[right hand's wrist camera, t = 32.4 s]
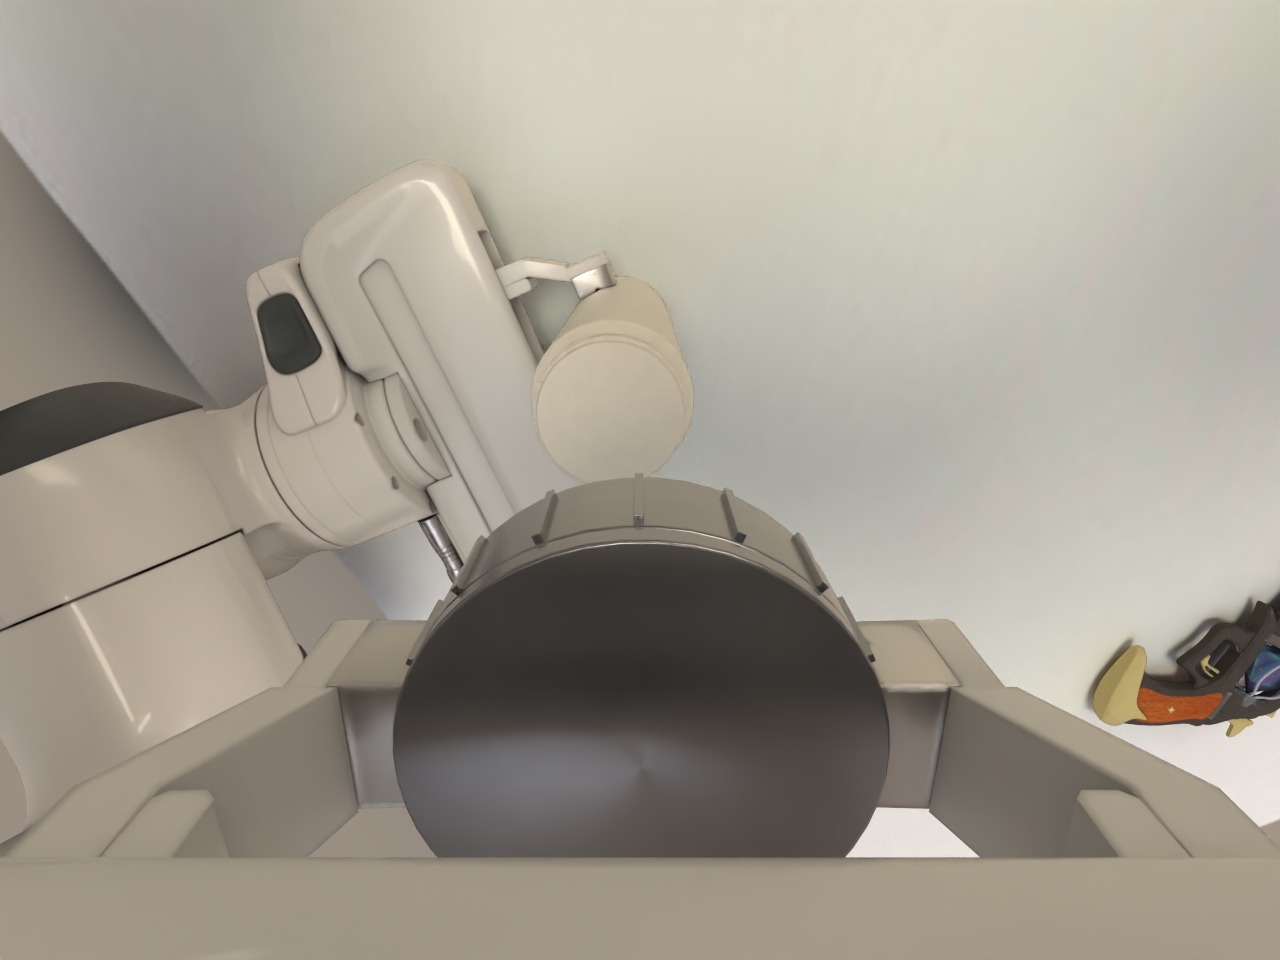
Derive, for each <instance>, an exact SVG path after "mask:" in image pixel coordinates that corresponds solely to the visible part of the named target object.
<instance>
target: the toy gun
mask: <svg viewBox="0 0 1280 960" xmlns="http://www.w3.org/2000/svg"><path fill="white" fill-rule="evenodd" d="M1226 639H1227V640H1228V641H1229V644H1230V647H1229V648H1228V649H1227V651H1226V652H1225V653H1224V654H1223V656H1222V657H1221V658H1220V659H1219V661H1218V662H1217V663H1216V664H1215V665H1214V667H1212V666H1210V665H1209V664H1208V660H1209V658H1210V655H1209V654H1210V653H1212V652H1213V651H1214V650H1215V649H1216V648H1217V647H1218V646H1219V645H1220V644H1221V643H1222V642H1223V641H1224V640H1226ZM1267 642H1268V643H1270V644H1272V645H1274V646H1270V645H1266V644H1267ZM1146 662H1147V657H1146V653H1145V649H1144V648H1143V647H1142V646H1139V645H1136V646H1133V647H1130V648H1129V649H1128V650H1127V651H1126V652H1125V653H1124V654H1123V655H1122V656H1121V657H1120V658H1119V659H1118V660H1117V661H1116V662H1115V663H1114V664H1113V665H1112V667H1111V668H1110V669H1109V670H1108V671H1107V673H1106V674H1105V675H1104V677H1103V678H1102V680H1101V681H1100V683H1099V685H1098V687H1097V689H1096V691H1095V694H1094V699H1093V706H1094V711H1095V713H1096V715H1097V716H1098V718H1099V719H1100V720H1102V721H1103V722H1105V723H1107V724H1109V725H1113V726H1116V725H1121V724H1123V723H1126V724H1135V725H1171V724H1183V723H1184V724H1191V725H1194V726H1200V725H1202V724H1204V725H1212V724H1217V723H1220V722H1224V721H1229V722H1230V726H1229V728H1228V730H1227V733H1226V735H1227V736H1228V737H1233V736H1235V735H1237V734H1238V733H1240V732H1241V731H1242V730H1243V729H1244V728H1245V727H1247V726H1250V725H1252V724H1253V723H1254V722H1253V721H1251V720H1250V719H1254V718H1256V717H1258V716H1263V715H1267V716H1269V717H1271V718H1272V717H1273V715H1274V714H1275V712H1276V711H1277V710H1278V709H1279V708H1280V610H1279V611H1278V612H1277V613H1275V614H1274V611H1273V608H1272V607H1271V606H1269V605H1267V604H1265V603H1263V602H1261V601H1257V603H1256V606H1255V609H1254V611H1253V614H1252V616H1251V618H1250V620H1249V621H1248V623H1247V624H1246V626H1245V628H1243V629H1240V628H1238V627H1236V626H1234V625H1232V624H1229V623H1220V624H1216V625H1214V626H1213V627H1212V628H1211V629H1210V630H1209V632H1208V633H1207V634H1206V635H1205V637H1204V638H1203V639H1202V640H1201V641H1200V642H1199V643H1198V644H1197V645H1195V646H1194V647H1193V648H1192V649H1190V650H1189V651H1187V652H1186V653H1185V654H1183V655H1182V656H1180V657H1179V658H1178V659H1177V664H1179V665H1180V666H1181V667H1183V668H1184V669H1185V670H1186V671H1187V672H1188V674H1189V676H1190V678H1189V681H1185V682H1166V681H1157V680H1154V679H1152V678H1150V677H1149V676H1147V675H1146V673H1145V671H1144V670H1145V666H1146ZM1199 662H1200V665H1201V667H1202V669H1203V671H1204V672H1205V673H1206V674H1203V675H1199V674H1198V672H1197V671H1196V669H1195V666H1196V664H1198V663H1199ZM1205 666H1207V667H1208V668H1210V669H1211V670H1210V671H1207V670H1206V669H1205ZM1244 673H1245V686H1240V687H1238V686H1239V684H1238V681H1239V680H1240V679H1241V677H1242V676H1243V675H1244ZM1242 688H1246V691H1245V690H1243V689H1242ZM1258 691H1263V692H1261V693H1260V694H1257V695H1254V694H1255V693H1256V692H1258ZM1251 692H1252V693H1251ZM1250 693H1251V694H1250Z"/></svg>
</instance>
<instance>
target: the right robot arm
mask: <svg viewBox="0 0 1280 960" xmlns="http://www.w3.org/2000/svg"><path fill="white" fill-rule="evenodd" d="M426 622H427V621H410V620H375V621H374V620H372V619H359V620H339V621H334V622H333V623H332V624H331V625H330V627H329V628H328V629H327V631H326V632H325V633H324V634H323V636H322V637H321V638H320V640H319V641H318V642H317V643H316V645H315V646H314V647H313V649H312V650H311V651H310V653H309V654H308V655H307V656H306V658H305V659H304V660H303V662H302V663H301V664H300V665H299V667H298V668H297V669H296V671H295V672H294V673H293V674H292V676H291V677H290V678H289V680H288V681H287V682H286V683H285V685H284V686H283V687H271V688H269V689H267V690H265V691H263V692H261V693H259V694H257V695H255V696H253V697H251V698H249V699H247V700H245V701H243V702H241V703H239V704H237V705H235V706H233V707H231V708H229V709H227V710H225V711H223V712H221V713H219V714H217V715H215V716H213V717H211V718H209V719H207V720H205V721H203V722H201V723H199V724H197V725H195V726H193V727H191V728H189V729H187V730H185V731H183V732H181V733H179V734H177V735H175V736H173V737H171V738H169V739H167V740H165V741H163V742H161V743H159V744H157V745H155V746H153V747H151V748H149V749H147V750H145V751H143V752H141V753H139V754H137V755H135V756H133V757H131V758H129V759H127V760H125V761H123V762H121V763H119V764H117V765H115V766H113V767H111V768H109V769H107V770H105V771H103V772H101V773H99V774H97V775H95V776H93V777H91V778H89V779H87V780H85V781H83V782H81V783H79V784H77V785H75V786H73V787H72V788H71V789H70V790H69V791H68V792H67V793H66V794H65V795H64V796H63V797H62V798H61V799H60V800H59V801H58V802H57V803H56V804H55V805H54V806H53V807H52V808H51V809H50V810H49V811H48V812H47V813H46V814H45V815H44V816H43V817H42V818H41V819H40V820H39V821H38V822H37V823H36V824H35V825H34V826H33V827H32V828H31V829H30V830H29V831H28V832H27V833H26V834H25V835H23V836H22V837H21V838H20V839H19V840H18V841H17V842H16V843H15V844H14V845H13V846H12V847H11V848H10V849H9V850H8V851H7V852H6V853H5V854H4V855H3V856H2V857H1V858H0V960H1280V847H1279V846H1278V845H1277V844H1276V843H1275V842H1274V841H1273V840H1272V839H1271V838H1270V837H1269V836H1268V835H1267V834H1265V833H1264V832H1263V831H1262V830H1261V829H1260V828H1259V827H1258V826H1257V825H1256V824H1255V823H1254V822H1253V821H1252V820H1251V819H1250V818H1249V817H1248V816H1247V815H1246V814H1245V813H1244V812H1243V811H1242V810H1241V809H1240V808H1239V807H1238V806H1237V805H1236V804H1235V803H1234V802H1233V801H1232V800H1231V799H1230V798H1229V797H1228V796H1227V795H1226V794H1225V793H1224V792H1223V791H1222V790H1221V789H1220V788H1218V787H1216V786H1214V785H1212V784H1210V783H1208V782H1206V781H1204V780H1202V779H1200V778H1198V777H1196V776H1194V775H1192V774H1190V773H1188V772H1186V771H1184V770H1182V769H1180V768H1178V767H1176V766H1174V765H1172V764H1170V763H1168V762H1166V761H1164V760H1162V759H1160V758H1158V757H1156V756H1154V755H1152V754H1150V753H1148V752H1146V751H1144V750H1142V749H1140V748H1138V747H1136V746H1134V745H1132V744H1130V743H1128V742H1126V741H1124V740H1122V739H1120V738H1118V737H1116V736H1114V735H1112V734H1110V733H1108V732H1106V731H1104V730H1102V729H1100V728H1098V727H1096V726H1094V725H1092V724H1090V723H1088V722H1086V721H1084V720H1082V719H1080V718H1078V717H1076V716H1074V715H1072V714H1070V713H1068V712H1066V711H1064V710H1062V709H1060V708H1058V707H1056V706H1054V705H1052V704H1050V703H1048V702H1046V701H1044V700H1042V699H1040V698H1037V697H1035V696H1033V695H1031V694H1029V693H1027V692H1025V691H1023V690H1021V689H1019V688H1017V687H1005V686H1004V685H1003V684H1002V682H1001V681H1000V680H999V679H998V677H997V676H996V675H995V674H994V672H993V671H992V670H991V669H990V667H989V666H988V665H987V664H986V662H985V661H984V660H983V659H982V657H981V656H980V655H979V654H978V652H977V651H976V650H975V648H974V647H973V646H972V645H971V643H970V642H969V641H968V640H967V638H966V637H965V636H964V635H963V633H962V632H961V631H960V630H959V628H958V627H957V626H956V625H955V623H954V622H952V621H950V620H947V619H934V620H902V621H862V622H857V624H858V626H859V628H860V630H861V632H862V634H863V635H864V637H865V639H866V641H867V643H868V645H869V647H870V648H871V650H872V652H873V654H874V657H875V659H876V661H874V662H872V663H871V664H872V666H873V667H874V669H875V672H876V675H877V678H878V680H879V683H880V686H881V688H882V691H883V694H884V697H885V702H886V708H887V713H888V718H889V727H890V754H889V761H888V768H887V776H886V780H885V783H884V787H883V790H882V793H881V797H880V800H879V803H878V805H877V807H888V808H924V809H930V810H929V812H930V813H931V814H932V815H933V816H935V817H936V818H937V819H938V820H939V821H940V822H941V823H942V824H944V825H945V826H946V827H947V828H948V829H949V830H950V831H951V832H953V833H954V834H955V835H956V836H957V837H958V838H959V839H960V840H962V841H963V842H964V843H965V844H966V845H967V846H968V847H969V848H971V849H972V850H973V851H974V852H975V853H976V854H977V855H978V856H980V857H981V858H308V857H309V856H310V855H311V854H312V853H313V852H314V851H315V850H317V849H318V848H319V847H320V846H321V845H322V844H323V843H324V842H325V841H327V840H328V839H329V838H330V837H331V836H332V835H333V834H334V833H335V832H337V831H338V830H339V829H340V828H341V827H342V826H343V825H344V824H345V823H347V822H348V821H349V820H350V819H351V818H352V817H353V816H354V815H355V814H357V813H358V809H363V808H398V807H406V806H405V804H404V800H403V797H402V794H401V791H400V788H399V785H398V782H397V777H396V771H395V764H394V758H393V722H394V716H395V711H396V705H397V699H398V696H399V693H400V690H401V687H402V685H403V682H404V679H405V676H406V673H407V671H408V669H409V667H410V666H408V665H406V661H407V658H408V656H409V654H410V652H411V650H412V649H413V647H414V645H415V643H416V641H417V639H418V637H419V635H420V634H421V632H422V630H423V628H424V626H425V624H426Z"/></svg>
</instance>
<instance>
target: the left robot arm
mask: <svg viewBox="0 0 1280 960" xmlns="http://www.w3.org/2000/svg"><path fill="white" fill-rule="evenodd" d="M535 278H541V279H549V280H557V281H565V282H572V283H573V285H574V287H575V290H576V292H577V294H578V296H579V299H582V298H584V297H586V296H589V295H591V294H592V293H594V292H595V290H596V289H597V288H598V289H605V288H608V287H610V286H612V285H614V284H616V283H617V280H616V278H615V275H614V272H613V270H612V267H611V264H610V262H609V259H608V257H607V255H606V252H605V251H603V252H601V253H598V254H596V255H593V256H591V257H589V258H586V259H584V260H582V261H579V262H577V263H575V264H572V265H570V266H569V264H568V263H564V262H557V261H550V260H543V259H536V258H529V257H525V258H523V259H520V260H517V261H515V262H513V263H510V264H508V265H506V266H504V263H503V261H502V259H501V257H500V255H499V252H498V250H497V248H496V246H495V244H494V241H493V239H492V237H491V235H490V232H489V230H488V228H487V226H486V224H485V221H484V219H483V217H482V215H481V213H480V210H479V208H478V206H477V204H476V201H475V199H474V197H473V195H472V193H471V190H470V188H469V186H468V184H467V182H466V179H465V177H464V176H463V174H462V173H460V172H459V171H458V170H456V169H454V168H451V167H449V166H447V165H445V164H442V163H440V162H436V161H432V160H419V161H415V162H412V163H410V164H407V165H405V166H403V167H401V168H399V169H397V170H395V171H393V172H391V173H389V174H387V175H385V176H384V177H382V178H380V179H378V180H376V181H375V182H373V183H371V184H370V185H368V186H366V187H364V188H363V189H361V190H360V191H358V192H357V193H355V194H353V195H352V196H350V197H349V198H347V199H346V200H344V201H343V202H342V203H340V204H339V205H337V206H336V207H334V208H333V209H332V210H330V211H329V212H327V213H326V214H325V215H324V216H323V217H321V218H320V219H319V220H318V221H317V222H316V223H315V224H314V225H313V226H312V227H311V229H310V230H309V231H308V233H307V234H306V236H305V238H304V240H303V243H302V246H301V250H300V257H294V258H289V259H286V260H283V261H279V262H276V263H273V264H271V265H269V266H266V267H264V268H262V269H260V270H258V271H256V272H255V273H253V274H252V275H250V276H249V278H248V279H247V282H246V297H247V301H248V306H249V309H250V313H251V317H252V321H253V324H254V328H255V332H256V336H257V340H258V344H259V348H260V352H261V357H262V361H263V366H264V370H265V376H266V381H267V384H266V385H264V386H263V387H262V388H260V389H259V390H258V391H257V392H256V393H254V394H253V395H252V396H251V397H249V398H248V399H247V400H245V401H244V402H242V403H241V404H239V405H237V406H234V407H231V408H227V409H218V410H209V411H204V410H203V406H202V405H199V404H197V403H195V402H193V401H190V400H188V399H185V398H182V397H179V396H176V395H172V394H168V393H165V392H161V391H157V390H154V389H150V388H146V387H142V386H139V385H135V384H130V383H122V382H99V383H91V384H84V385H78V386H73V387H69V388H64V389H60V390H57V391H53V392H50V393H47V394H44V395H41V396H38V397H35V398H33V399H30V400H27V401H25V402H22V403H19V404H17V405H14V406H12V407H9V408H7V409H5V410H2V411H0V629H1V628H3V627H5V628H3V629H1V630H0V739H1V741H2V742H3V744H4V746H5V748H6V749H7V751H8V753H9V754H10V756H11V758H12V759H13V761H14V763H15V764H16V767H17V769H18V771H19V774H20V776H21V779H22V782H23V786H24V791H25V796H26V806H27V814H26V823H25V827H24V829H23V832H22V833H20V834H18V835H16V836H14V837H12V838H10V839H9V840H7V841H5V842H3V843H1V844H0V858H1V857H2V856H3V855H4V854H5V853H6V852H7V851H8V850H9V849H10V848H11V847H12V846H13V845H14V844H15V843H16V842H17V841H18V840H19V839H20V838H21V837H22V836H23V835H25V834H26V833H27V832H28V831H29V830H30V829H31V828H32V827H33V826H34V825H35V824H36V823H37V822H38V821H39V820H40V819H41V818H42V817H43V816H44V815H45V814H46V813H47V812H48V811H49V810H50V809H51V808H52V807H53V806H54V805H55V804H56V803H57V802H58V801H59V800H60V799H61V798H62V797H63V796H64V795H65V794H66V793H67V792H68V791H69V790H70V789H71V788H72V787H73V786H75V785H77V784H79V783H81V782H83V781H85V780H87V779H89V778H91V777H93V776H95V775H97V774H99V773H101V772H103V771H105V770H107V769H109V768H111V767H113V766H115V765H117V764H119V763H121V762H123V761H125V760H127V759H129V758H131V757H133V756H135V755H137V754H139V753H141V752H143V751H145V750H147V749H149V748H151V747H153V746H155V745H157V744H159V743H161V742H163V741H165V740H167V739H169V738H171V737H173V736H175V735H177V734H179V733H181V732H183V731H185V730H187V729H189V728H191V727H193V726H195V725H197V724H199V723H201V722H203V721H205V720H207V719H209V718H211V717H213V716H215V715H217V714H219V713H221V712H223V711H225V710H227V709H229V708H231V707H233V706H235V705H237V704H239V703H241V702H243V701H245V700H247V699H249V698H251V697H253V696H255V695H257V694H259V693H261V692H263V691H265V690H267V689H269V688H271V687H283V686H284V685H285V683H286V682H287V681H288V680H289V678H290V677H291V676H292V674H293V673H294V672H295V671H296V669H297V668H298V667H299V665H300V664H301V663H302V662H303V660H304V659H305V658H306V656H307V654H306V652H305V651H304V649H303V648H302V646H300V645H299V644H298V643H297V642H296V640H295V638H294V636H293V634H292V632H291V630H290V628H289V626H288V624H287V622H286V620H285V618H284V616H283V614H282V613H281V611H280V609H279V607H278V605H277V603H276V601H275V599H274V597H273V595H272V593H271V591H270V589H269V587H268V585H267V583H266V581H265V580H267V579H270V578H273V577H275V576H277V575H279V574H282V573H284V572H286V571H287V570H289V569H290V568H292V567H293V566H294V565H296V564H297V563H298V562H299V561H300V560H302V559H303V558H304V557H306V556H308V555H310V554H312V553H315V552H319V551H327V550H339V549H345V548H348V547H351V546H354V545H357V544H359V543H362V542H365V541H367V540H370V539H372V538H375V537H377V536H380V535H383V534H385V533H388V532H390V531H393V530H395V529H398V528H400V527H403V526H406V525H408V524H411V523H413V522H416V521H418V523H419V524H420V526H421V528H422V530H423V531H424V533H425V535H426V537H427V539H428V540H429V542H430V544H431V545H432V547H433V549H434V550H435V551H436V553H437V554H438V555H439V557H440V558H441V560H442V561H443V563H444V565H445V567H446V569H447V574H448V576H449V578H450V580H451V581H452V583H454V581H455V579H456V577H457V575H458V573H459V571H460V570H461V568H462V567H463V565H464V563H465V561H466V559H467V557H468V555H469V554H470V552H471V550H472V548H473V546H474V544H475V542H476V540H477V539H478V538H479V537H480V536H481V535H483V536H484V537H485V538H487V537H488V536H489V535H490V534H491V533H492V532H493V531H494V530H495V529H496V528H498V527H499V526H500V525H502V524H503V523H504V522H506V521H507V520H508V519H510V518H511V517H512V516H514V515H515V514H516V513H518V512H520V511H522V510H523V509H525V508H527V507H529V506H530V505H532V504H534V503H536V502H537V501H539V500H541V499H544V498H545V495H546V492H548V491H551V490H553V489H554V490H555V492H556V493H559V492H561V491H564V490H566V489H569V488H573V487H577V486H581V485H585V484H588V482H585V481H582V480H580V481H579V482H577V481H576V480H574V479H572V478H571V477H569V476H567V475H565V474H564V473H562V472H561V471H560V470H559V469H558V468H557V467H556V466H555V465H554V464H553V463H552V462H551V461H550V460H549V459H548V458H547V455H546V453H545V452H544V450H543V448H542V447H541V445H540V443H539V442H538V438H537V434H536V431H535V427H534V424H533V416H532V411H531V402H530V394H531V385H532V380H533V376H534V373H535V371H536V368H537V366H538V364H539V362H540V360H541V358H542V356H543V355H544V352H543V350H542V348H541V345H540V343H539V341H538V339H537V337H536V334H535V332H534V330H533V328H532V325H531V323H530V321H529V319H528V317H527V314H526V312H525V310H524V308H523V306H522V303H521V301H520V299H519V297H518V296H520V295H522V294H524V293H526V292H529V291H531V290H532V289H534V288H535V287H536V286H537V284H538V283H537V281H536V279H535ZM62 603H63V604H62ZM57 605H58V606H57ZM52 607H53V608H52ZM50 608H51V609H50ZM47 609H48V610H47ZM45 610H46V611H45ZM40 612H41V613H40ZM38 613H39V614H38ZM35 614H36V615H35ZM33 615H34V616H33ZM30 616H31V617H30ZM28 617H29V618H28ZM25 618H27V619H25ZM23 619H24V620H23ZM20 620H22V621H20ZM18 621H20V622H18ZM16 622H17V623H16ZM13 623H15V624H13ZM11 624H12V625H11ZM8 625H10V626H8ZM6 626H8V627H6Z"/></svg>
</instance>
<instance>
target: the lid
mask: <svg viewBox="0 0 1280 960" xmlns="http://www.w3.org/2000/svg"><path fill="white" fill-rule="evenodd" d="M874 661H876V659H875V657H874V654H873V652H872V650H871V648H870V647H869V645H868V643H867V641H866V639H865V637H864V635H863V634H862V632H861V630H860V628H859V626H858V624H857V622H856V621H855V619H854V617H853V615H852V613H851V611H850V609H849V608H848V606H847V604H846V602H845V600H844V598H843V597H839V598H837V597H836V595H835V593H834V591H833V589H832V587H831V585H830V584H829V582H828V580H827V578H826V576H825V575H824V573H823V571H822V569H821V568H820V566H819V565H818V563H817V562H816V561H815V559H814V557H813V555H812V553H811V551H810V549H809V548H808V546H807V544H806V542H805V540H804V538H803V536H802V535H801V534H800V533H796V534H795V535H794V536H793V535H792V534H791V533H790V532H789V531H788V530H787V529H786V528H785V527H784V526H782V525H781V524H779V523H778V522H777V521H775V520H774V519H773V518H771V517H770V516H768V515H767V514H766V513H764V512H763V511H761V510H759V509H757V508H756V507H754V506H752V505H750V504H748V503H746V502H745V501H743V500H741V499H739V498H737V497H734V495H733V492H732V490H729V489H727V488H724V490H723V492H721V491H718V490H716V489H713V488H710V487H706V486H702V485H698V484H694V483H689V482H685V481H679V480H670V479H662V478H644V476H643V473H635V478H619V479H612V480H604V481H597V482H592V483H588V484H585V485H581V486H577V487H573V488H569V489H566V490H564V491H561V492H559V493H556V492H555V490H554V489H553V490H551V491H548V492H546V495H545V498H544V499H541V500H539V501H537V502H536V503H534V504H532V505H530V506H529V507H527V508H525V509H523V510H522V511H520V512H518V513H516V514H515V515H514V516H512V517H511V518H510V519H508V520H507V521H506V522H504V523H503V524H502V525H500V526H499V527H498V528H496V529H495V530H494V531H493V532H492V533H491V534H490V535H489V536H488V537H487V538H485V537H484V536H483V535H481V536H480V537H479V538H478V539H477V540H476V542H475V544H474V546H473V548H472V550H471V552H470V554H469V555H468V557H467V559H466V561H465V563H464V565H463V567H462V568H461V570H460V571H459V573H458V575H457V577H456V579H455V581H454V583H453V585H452V586H451V588H450V590H449V592H448V594H447V596H446V598H445V600H444V601H442V600H438V602H437V604H436V606H435V607H434V609H433V611H432V613H431V615H430V617H429V619H428V621H427V622H426V624H425V626H424V628H423V630H422V632H421V634H420V635H419V637H418V639H417V641H416V643H415V645H414V647H413V649H412V650H411V652H410V654H409V656H408V658H407V661H406V665H408V666H410V667H409V669H408V671H407V673H406V676H405V679H404V682H403V685H402V687H401V690H400V693H399V696H398V699H397V705H396V711H395V716H394V722H393V758H394V764H395V771H396V777H397V782H398V785H399V788H400V791H401V794H402V797H403V800H404V804H405V806H406V808H407V810H408V812H409V814H410V816H411V818H412V820H413V822H414V824H415V826H416V828H417V830H418V831H419V833H420V834H421V836H422V837H423V839H424V840H425V842H426V843H427V844H428V846H429V847H430V849H431V850H432V852H433V853H434V854H435V855H436V856H437V857H438V858H845V857H846V856H847V854H848V853H849V852H850V851H851V850H852V849H853V847H854V846H855V844H856V843H857V841H858V840H859V838H860V837H861V835H862V834H863V832H864V831H865V829H866V828H867V826H868V824H869V822H870V820H871V818H872V816H873V813H874V811H875V809H876V807H877V805H878V803H879V800H880V797H881V793H882V790H883V787H884V783H885V780H886V776H887V768H888V761H889V754H890V727H889V718H888V713H887V708H886V702H885V697H884V694H883V691H882V688H881V686H880V683H879V680H878V678H877V675H876V672H875V669H874V667H873V666H872V664H871V663H872V662H874Z"/></svg>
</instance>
